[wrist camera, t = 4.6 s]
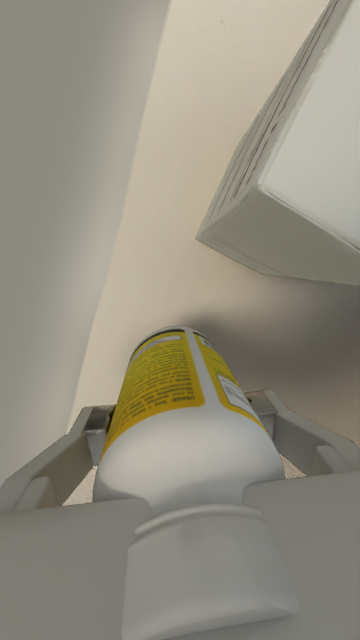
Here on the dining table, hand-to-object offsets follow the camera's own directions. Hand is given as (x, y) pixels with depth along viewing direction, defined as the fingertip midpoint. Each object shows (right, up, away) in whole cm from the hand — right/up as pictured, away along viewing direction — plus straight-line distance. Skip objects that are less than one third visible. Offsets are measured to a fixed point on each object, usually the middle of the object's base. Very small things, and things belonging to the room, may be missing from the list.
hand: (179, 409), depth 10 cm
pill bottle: (0, +1, +4) cm, 4 cm away
